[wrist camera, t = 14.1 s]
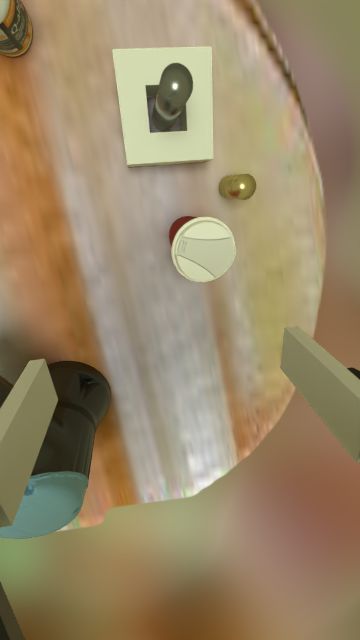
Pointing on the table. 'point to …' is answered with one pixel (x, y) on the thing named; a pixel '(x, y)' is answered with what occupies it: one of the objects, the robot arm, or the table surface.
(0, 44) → the pill bottle
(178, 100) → the long pin
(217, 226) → the paper cup
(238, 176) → the short pin
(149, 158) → the hole block
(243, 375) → the table surface
